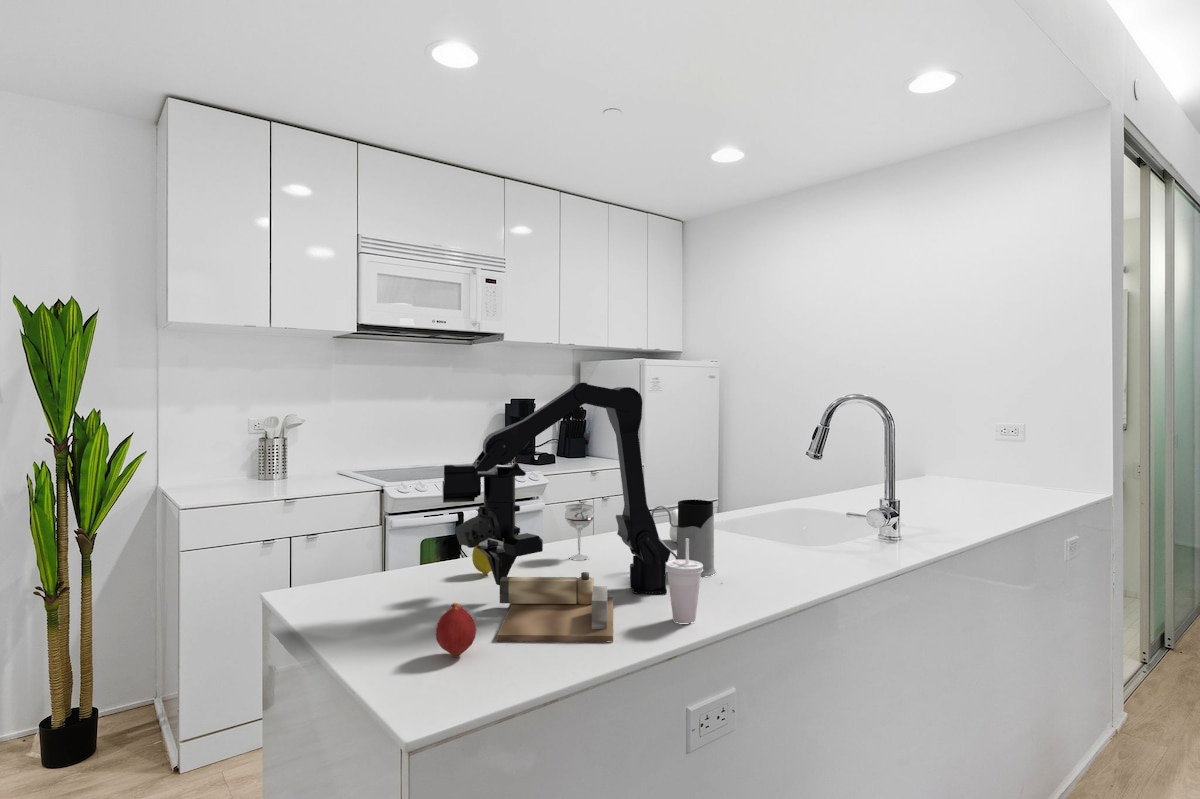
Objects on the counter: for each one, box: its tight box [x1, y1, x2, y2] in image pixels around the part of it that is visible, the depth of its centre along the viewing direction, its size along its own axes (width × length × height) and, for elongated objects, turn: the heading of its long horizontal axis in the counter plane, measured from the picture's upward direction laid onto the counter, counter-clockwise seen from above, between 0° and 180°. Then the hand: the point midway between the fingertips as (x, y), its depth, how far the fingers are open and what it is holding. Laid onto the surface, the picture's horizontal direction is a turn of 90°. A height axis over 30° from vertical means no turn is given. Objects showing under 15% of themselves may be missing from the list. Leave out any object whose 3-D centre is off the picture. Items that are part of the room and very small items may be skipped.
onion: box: [435, 602, 477, 658], centre depth 100 cm, size 6×6×8 cm
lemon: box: [471, 543, 492, 576], centre depth 144 cm, size 6×6×8 cm
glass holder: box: [651, 499, 717, 578], centre depth 147 cm, size 9×14×15 cm, turn 68°
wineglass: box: [564, 503, 595, 561], centre depth 159 cm, size 7×7×12 cm
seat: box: [496, 571, 614, 643], centre depth 116 cm, size 18×20×6 cm
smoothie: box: [665, 538, 703, 623], centre depth 115 cm, size 6×6×14 cm
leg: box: [499, 576, 595, 604], centre depth 122 cm, size 17×3×4 cm, turn 89°
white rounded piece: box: [669, 508, 716, 543], centre depth 173 cm, size 11×12×9 cm
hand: (499, 584), depth 126 cm, fingers closed
